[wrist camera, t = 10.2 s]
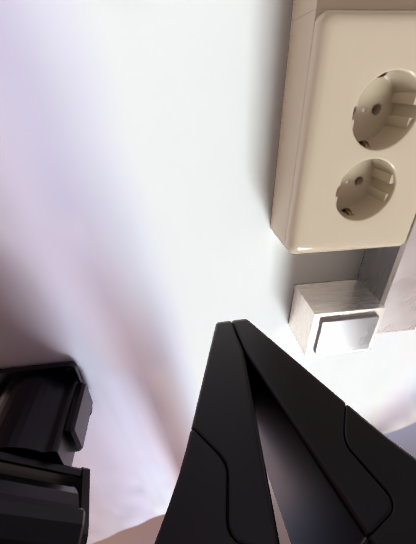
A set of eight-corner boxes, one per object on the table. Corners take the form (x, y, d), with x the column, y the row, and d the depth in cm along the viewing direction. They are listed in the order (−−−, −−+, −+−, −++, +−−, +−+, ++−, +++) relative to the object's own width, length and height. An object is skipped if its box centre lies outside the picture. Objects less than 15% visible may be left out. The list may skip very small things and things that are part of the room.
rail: (288, 324, 25) (307, 360, 22) (426, -513, 8) (591, -887, 5) (379, 315, 26) (411, 348, 22) (668, -465, 9) (939, -761, 6)
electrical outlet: (630, -345, 8) (407, 248, 18) (491, -216, 12) (367, 221, 21) (383, -382, 7) (289, 257, 17) (313, -233, 11) (268, 228, 20)
